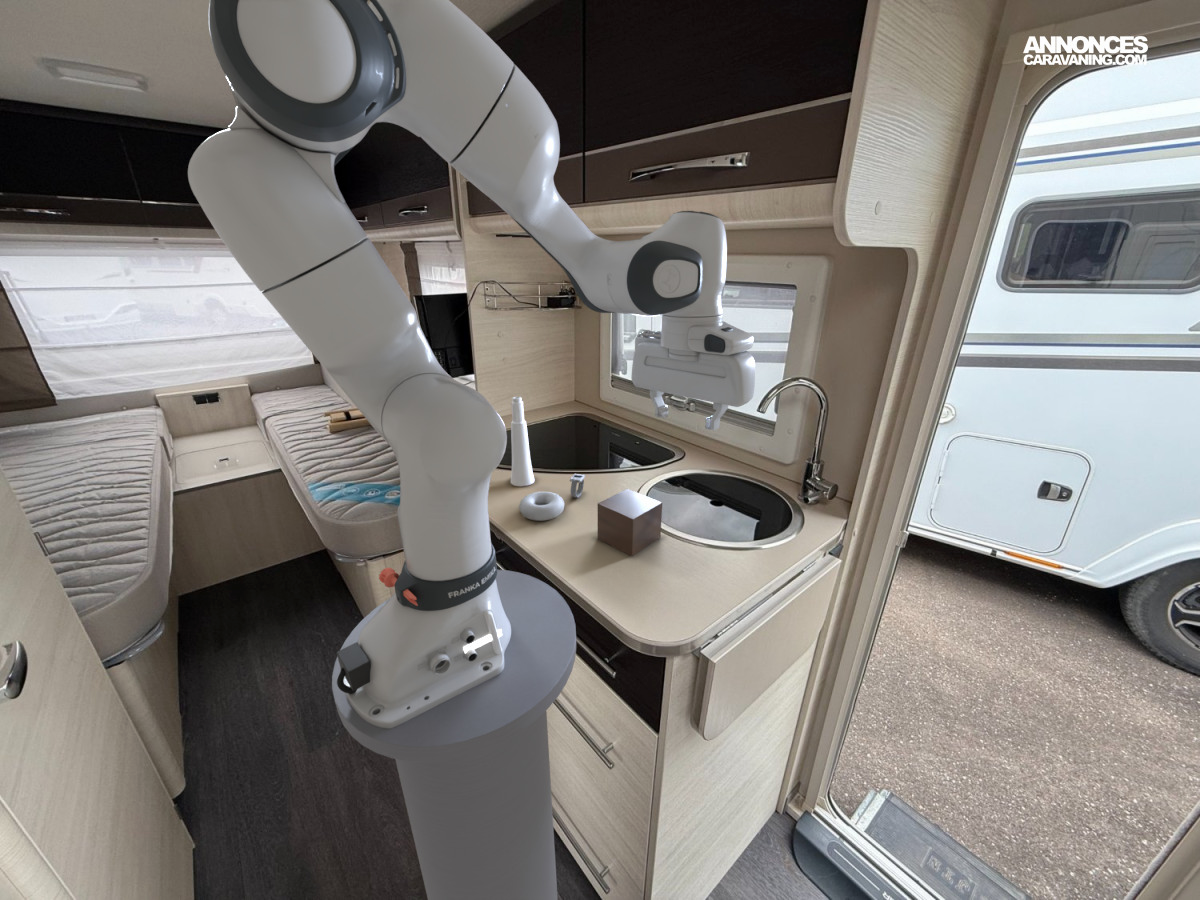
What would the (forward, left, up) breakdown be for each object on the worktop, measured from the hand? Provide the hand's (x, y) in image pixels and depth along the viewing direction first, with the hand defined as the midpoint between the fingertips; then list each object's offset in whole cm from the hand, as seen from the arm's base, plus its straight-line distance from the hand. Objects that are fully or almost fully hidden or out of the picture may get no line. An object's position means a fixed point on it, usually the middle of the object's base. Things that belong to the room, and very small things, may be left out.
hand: (685, 422), depth 75 cm
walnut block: (+2, +13, -28) cm, 31 cm away
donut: (-3, +34, -28) cm, 44 cm away
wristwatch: (+8, +34, -28) cm, 44 cm away
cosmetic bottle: (+4, +50, -28) cm, 57 cm away
